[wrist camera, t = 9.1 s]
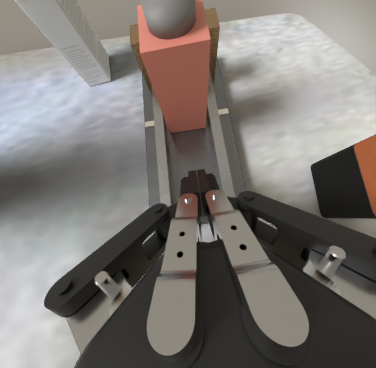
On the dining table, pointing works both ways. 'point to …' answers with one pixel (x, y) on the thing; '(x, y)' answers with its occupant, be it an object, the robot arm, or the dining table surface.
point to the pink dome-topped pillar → (176, 59)
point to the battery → (347, 182)
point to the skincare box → (71, 36)
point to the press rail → (190, 135)
